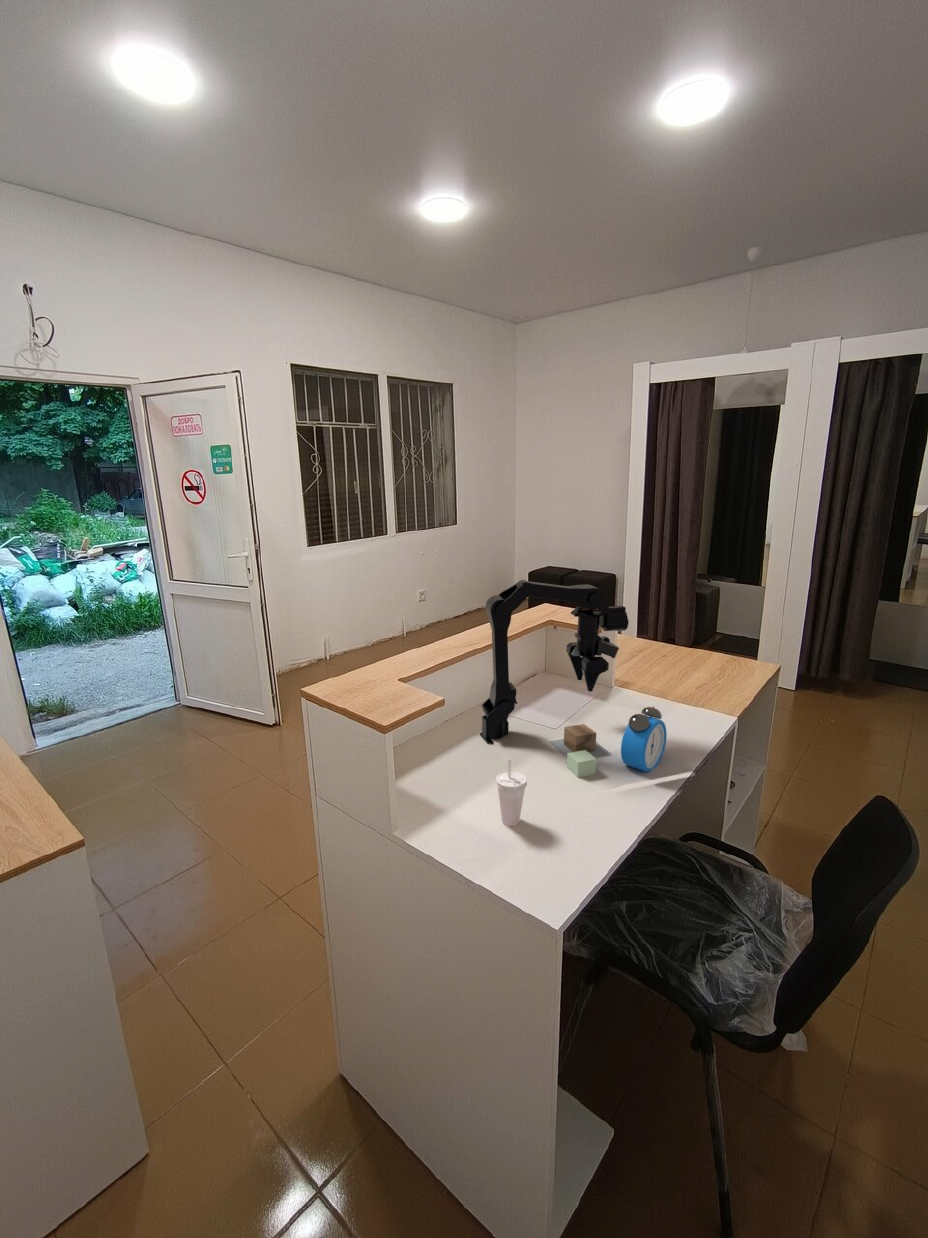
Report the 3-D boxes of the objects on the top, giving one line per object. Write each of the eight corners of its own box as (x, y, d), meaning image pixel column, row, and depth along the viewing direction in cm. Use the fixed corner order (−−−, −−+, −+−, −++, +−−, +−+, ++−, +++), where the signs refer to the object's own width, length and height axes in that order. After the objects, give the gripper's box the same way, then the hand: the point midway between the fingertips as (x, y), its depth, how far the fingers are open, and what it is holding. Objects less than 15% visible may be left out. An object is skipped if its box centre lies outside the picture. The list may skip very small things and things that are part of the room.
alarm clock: (641, 781, 133) (646, 722, 130) (617, 773, 137) (621, 715, 134) (665, 762, 143) (669, 706, 139) (642, 754, 147) (646, 700, 143)
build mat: (570, 765, 141) (570, 761, 141) (548, 744, 152) (548, 741, 152) (611, 757, 145) (611, 754, 145) (586, 738, 156) (587, 735, 156)
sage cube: (577, 781, 134) (578, 762, 132) (566, 772, 138) (567, 753, 137) (595, 778, 135) (596, 759, 134) (584, 768, 140) (585, 750, 139)
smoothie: (506, 808, 122) (507, 749, 119) (531, 819, 118) (533, 758, 115) (489, 822, 117) (489, 760, 114) (514, 833, 113) (515, 770, 110)
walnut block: (575, 754, 145) (576, 736, 144) (563, 744, 150) (564, 727, 149) (595, 750, 147) (596, 733, 145) (583, 741, 152) (584, 724, 151)
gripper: (630, 639, 146) (625, 696, 149) (604, 622, 164) (601, 673, 167) (588, 640, 144) (584, 698, 148) (567, 623, 162) (564, 674, 166)
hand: (584, 685), depth 157 cm, fingers open, 9 cm apart
